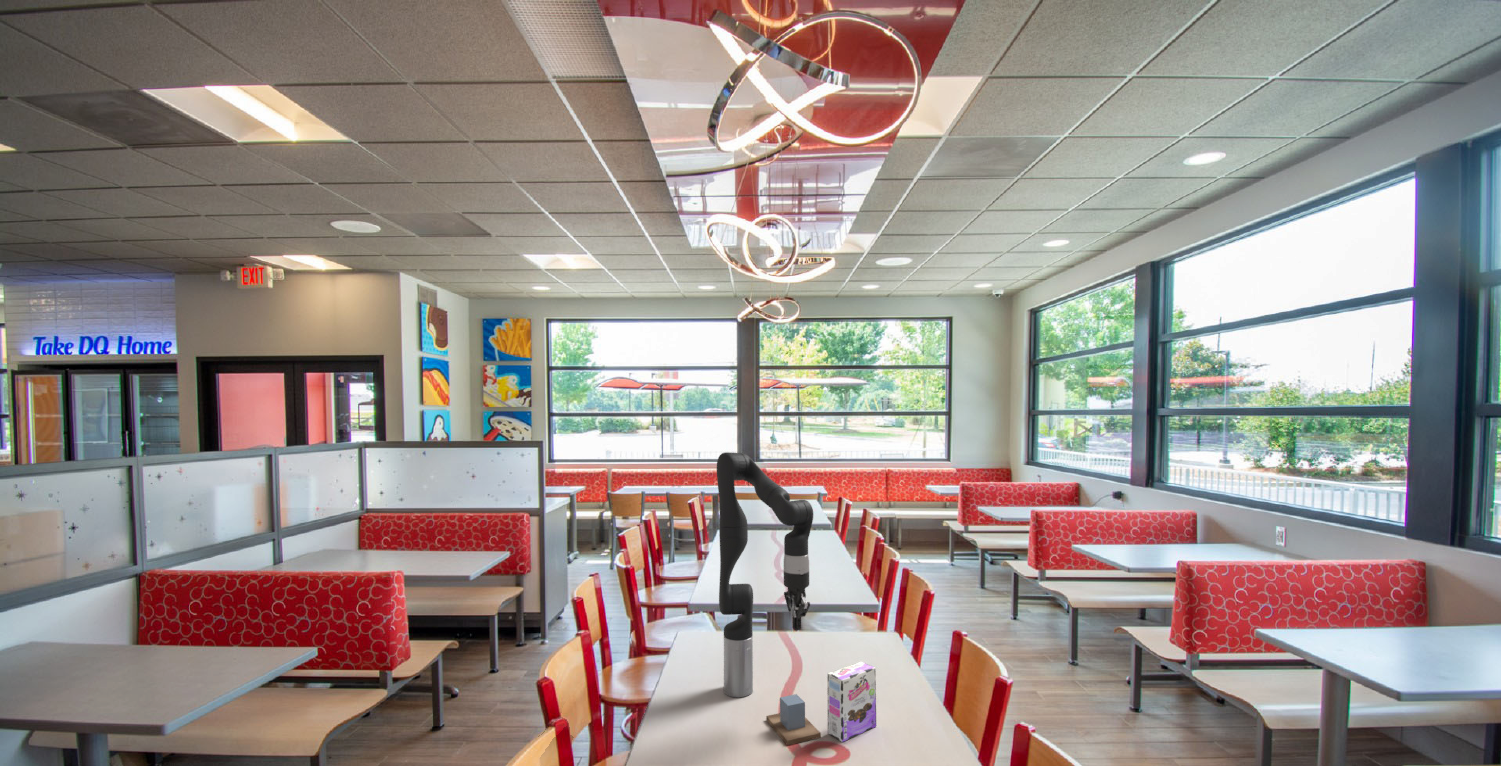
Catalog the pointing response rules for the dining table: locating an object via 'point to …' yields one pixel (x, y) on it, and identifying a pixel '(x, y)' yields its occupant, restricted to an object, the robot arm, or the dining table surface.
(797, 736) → the post stand
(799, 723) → the blue-gray block
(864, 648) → the dining table surface
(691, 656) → the dining table surface
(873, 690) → the candy box
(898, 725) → the dining table surface
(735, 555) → the robot arm
